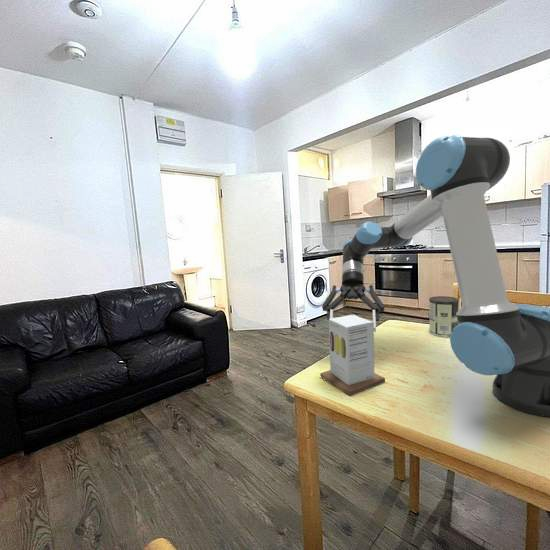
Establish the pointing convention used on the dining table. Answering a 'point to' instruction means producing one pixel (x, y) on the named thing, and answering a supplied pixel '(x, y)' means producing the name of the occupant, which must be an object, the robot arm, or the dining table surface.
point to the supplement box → (351, 348)
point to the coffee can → (443, 315)
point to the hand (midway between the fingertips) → (352, 329)
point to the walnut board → (354, 387)
